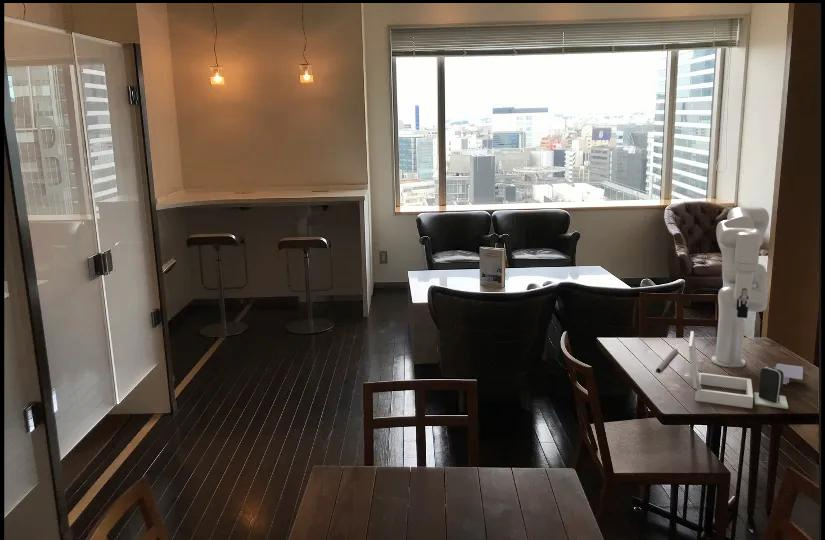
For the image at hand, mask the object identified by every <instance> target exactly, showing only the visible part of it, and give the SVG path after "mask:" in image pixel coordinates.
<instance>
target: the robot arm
mask: <svg viewBox="0 0 825 540" xmlns="http://www.w3.org/2000/svg"><path fill="white" fill-rule="evenodd" d="M726 217H727V219H724V220H721V221H719V222H718V223H717V225H716V230H715V232H716V241H717V244H718V247H719V249H720V252H721V259H722V260H721V277H722V282H723V283H724V284H725V286H722V287H721V288H720V289H719V290H718V294H717V301H718V321H717V322H718V324H717V335H716V348H715V355H712V356H711V359H710V361H711V362H712V363H713V364H714V365H716V366H719V367H724V368H732V369H733V368H735V369H736V368H742V367H744V366H746V363H747V362H746V360H745V359H744V358H743V348H744V338H745V325H746V324H745V323H746V322H745V319H747V318H748V312H753V313H754V312H756V313H759V312H760V313H761V312H765V310H766V309H767V308H768V303H769V302H768V299H769V297H768V296H769V295H768V276H767V275H768V274H767V269H766V267H765V265H763V264H761V263H759V259H760V258H759V257H760V248H761V246H763V244H764V240H765V239H764V237H765V235H766V231H767V229H768V227H769V223H770V222H769V221H770V214H769V212H768V210H767V209H766V208H764V207H759V206H753V207H752V206H738V207H733V208H732V209H730V210H729V211H728V213H727V216H726Z"/></svg>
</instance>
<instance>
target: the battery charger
mask: <svg viewBox="0 0 825 540" xmlns="http://www.w3.org/2000/svg"><path fill="white" fill-rule="evenodd" d="M783 379H784V374H783V372H782V371H781V370H779V369H776V367H772V366H764V367H762V368H761V369H760V373H759V386H758V387H759V388H758V393H759V395H758V396H759V397H761V398H763V399H766V400H768V401H771V402H775V403H777V402H779V401H780V398H779V395H780V391H781V386H784V385H783Z"/></svg>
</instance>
